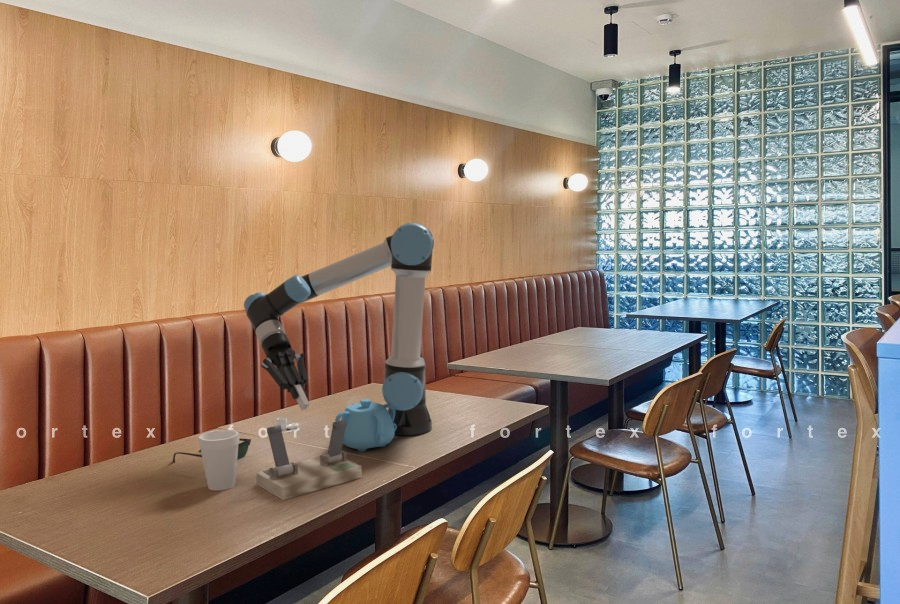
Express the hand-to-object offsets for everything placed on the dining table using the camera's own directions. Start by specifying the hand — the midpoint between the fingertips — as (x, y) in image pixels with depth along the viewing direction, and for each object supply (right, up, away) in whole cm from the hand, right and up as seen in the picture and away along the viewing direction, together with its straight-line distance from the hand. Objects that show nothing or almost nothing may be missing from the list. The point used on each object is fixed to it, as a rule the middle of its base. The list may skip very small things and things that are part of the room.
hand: (305, 406), depth 189 cm
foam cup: (-18, -18, -15) cm, 29 cm away
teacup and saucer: (-12, -13, +32) cm, 37 cm away
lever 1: (-1, -14, -18) cm, 23 cm away
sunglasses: (-28, -16, +5) cm, 33 cm away
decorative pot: (+15, -14, +16) cm, 26 cm away
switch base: (+4, -17, -13) cm, 21 cm away
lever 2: (+9, -13, -8) cm, 18 cm away
